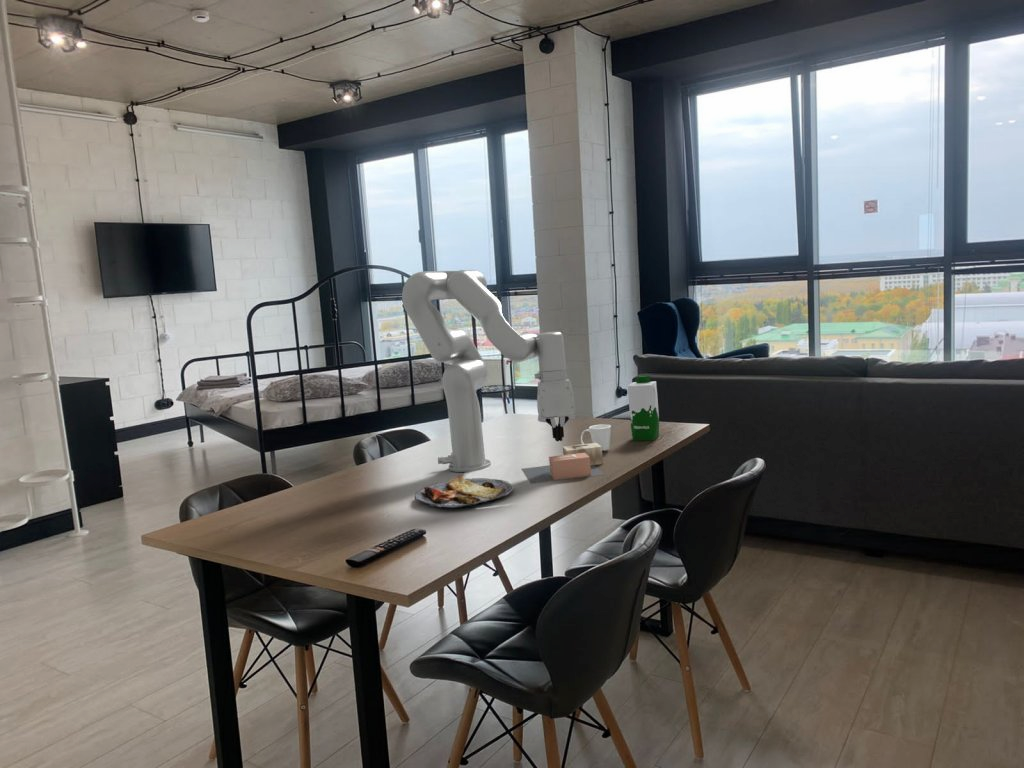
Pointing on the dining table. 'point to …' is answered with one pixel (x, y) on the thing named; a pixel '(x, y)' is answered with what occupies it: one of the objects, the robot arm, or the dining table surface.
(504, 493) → the food plate
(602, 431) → the cup
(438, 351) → the robot arm
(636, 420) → the milk carton
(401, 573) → the dining table surface
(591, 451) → the beech block
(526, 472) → the rubber mat
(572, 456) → the terracotta block
